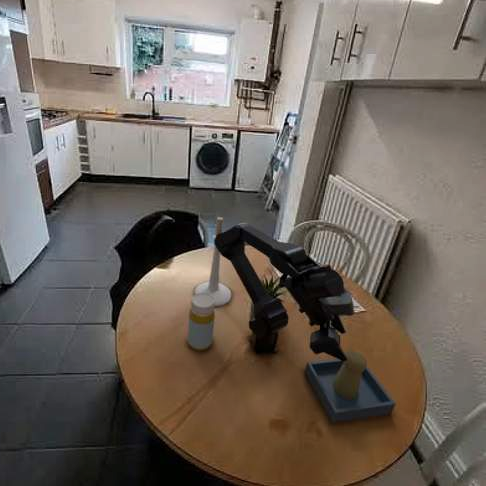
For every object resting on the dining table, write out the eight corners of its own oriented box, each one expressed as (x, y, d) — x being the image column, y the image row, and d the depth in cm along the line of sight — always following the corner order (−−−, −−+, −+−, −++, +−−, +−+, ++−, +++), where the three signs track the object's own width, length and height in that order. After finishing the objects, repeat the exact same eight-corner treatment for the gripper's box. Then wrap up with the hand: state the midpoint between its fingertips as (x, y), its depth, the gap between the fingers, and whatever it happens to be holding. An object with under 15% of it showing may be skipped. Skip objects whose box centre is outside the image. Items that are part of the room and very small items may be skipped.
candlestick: (187, 294, 108) (191, 215, 97) (210, 279, 118) (217, 206, 106) (215, 311, 101) (223, 229, 90) (238, 294, 110) (248, 218, 99)
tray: (332, 423, 70) (335, 412, 69) (304, 371, 82) (307, 362, 81) (391, 414, 73) (395, 403, 72) (356, 365, 85) (359, 356, 84)
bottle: (215, 338, 91) (220, 296, 85) (205, 355, 85) (209, 311, 79) (194, 329, 93) (197, 288, 87) (183, 345, 87) (185, 302, 81)
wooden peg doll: (328, 377, 80) (338, 345, 76) (350, 377, 81) (361, 345, 76) (339, 399, 74) (351, 366, 70) (363, 399, 75) (375, 366, 71)
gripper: (338, 308, 62) (382, 367, 63) (337, 263, 79) (372, 310, 80) (292, 326, 67) (333, 380, 69) (299, 280, 84) (333, 324, 85)
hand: (344, 345), depth 75 cm, fingers open, 9 cm apart
